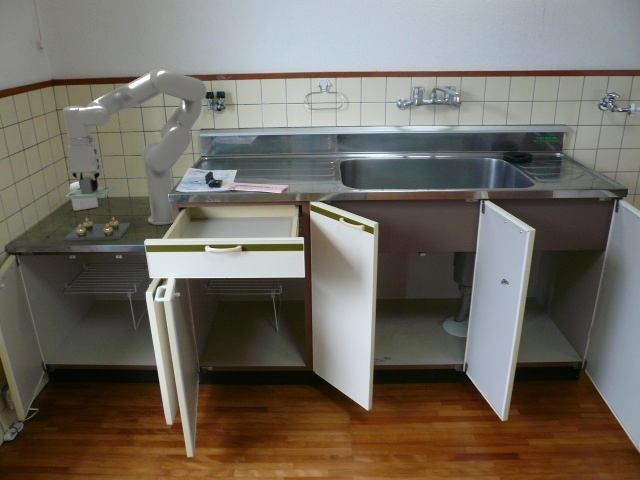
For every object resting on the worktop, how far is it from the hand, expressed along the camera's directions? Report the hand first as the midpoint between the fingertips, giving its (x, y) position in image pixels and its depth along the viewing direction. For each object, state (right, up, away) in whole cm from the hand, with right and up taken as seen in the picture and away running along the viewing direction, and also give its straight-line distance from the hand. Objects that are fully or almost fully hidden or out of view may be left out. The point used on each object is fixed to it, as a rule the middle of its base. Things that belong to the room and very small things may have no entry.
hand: (89, 189), depth 199 cm
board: (0, -2, +1) cm, 2 cm away
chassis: (+1, -16, +5) cm, 17 cm away
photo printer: (-16, -5, +33) cm, 37 cm away
